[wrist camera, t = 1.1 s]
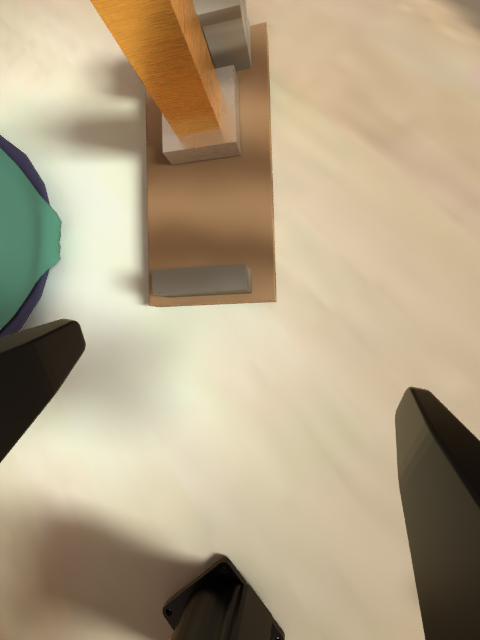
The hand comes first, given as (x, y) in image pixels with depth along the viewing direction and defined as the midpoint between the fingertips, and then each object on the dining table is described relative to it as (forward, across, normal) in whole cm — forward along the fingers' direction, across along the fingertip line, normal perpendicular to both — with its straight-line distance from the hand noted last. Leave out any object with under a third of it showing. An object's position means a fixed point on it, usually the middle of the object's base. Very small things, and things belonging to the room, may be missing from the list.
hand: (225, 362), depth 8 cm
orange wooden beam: (+19, +8, -8) cm, 22 cm away
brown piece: (+17, +6, -2) cm, 19 cm away
